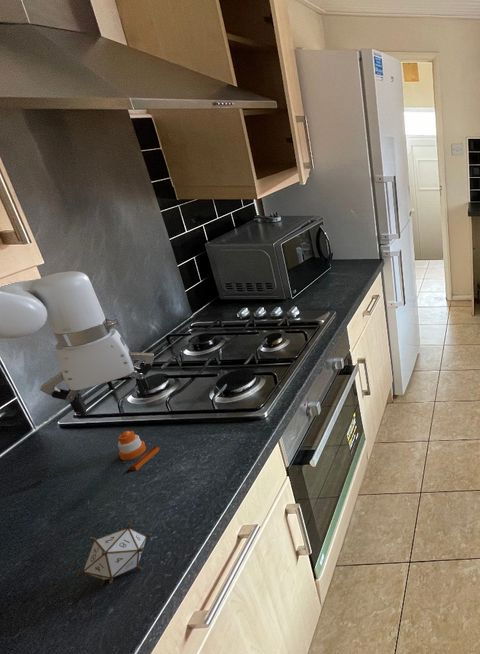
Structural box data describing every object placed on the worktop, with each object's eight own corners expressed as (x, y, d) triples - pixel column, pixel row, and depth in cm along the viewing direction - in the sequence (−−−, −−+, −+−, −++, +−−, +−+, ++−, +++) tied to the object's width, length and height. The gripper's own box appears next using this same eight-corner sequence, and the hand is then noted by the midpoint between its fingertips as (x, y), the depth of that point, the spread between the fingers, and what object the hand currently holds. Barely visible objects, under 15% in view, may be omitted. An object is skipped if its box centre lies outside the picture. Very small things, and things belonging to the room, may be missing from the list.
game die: (134, 590, 72) (109, 593, 64) (82, 579, 71) (49, 580, 63) (170, 531, 78) (151, 527, 70) (122, 519, 76) (97, 514, 69)
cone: (111, 469, 92) (98, 441, 89) (135, 448, 97) (124, 421, 95) (136, 470, 91) (124, 442, 89) (160, 449, 97) (149, 423, 94)
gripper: (139, 312, 90) (164, 377, 97) (23, 340, 80) (59, 411, 86) (140, 325, 85) (166, 393, 92) (16, 357, 75) (55, 431, 81)
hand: (114, 402), depth 89 cm, fingers open, 9 cm apart
